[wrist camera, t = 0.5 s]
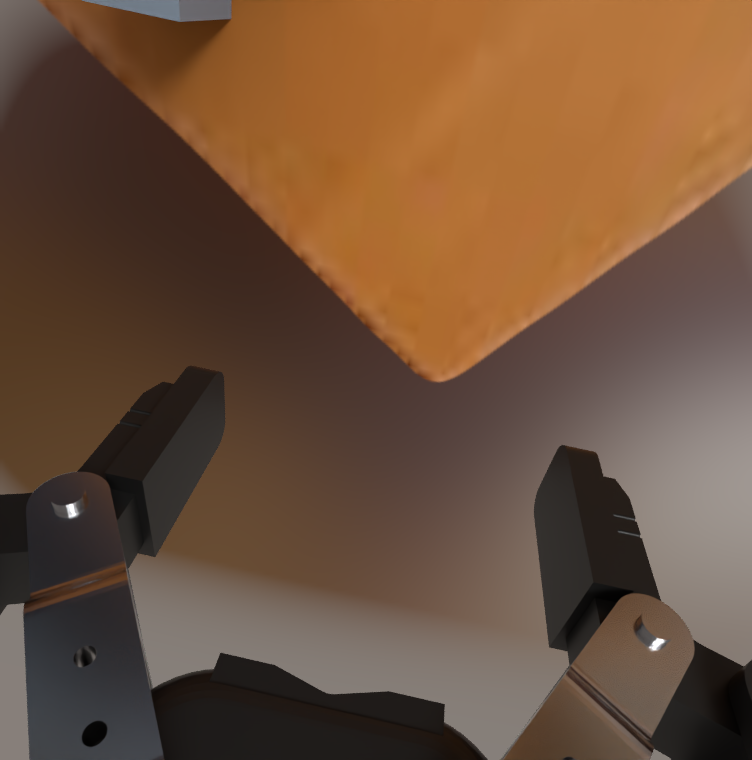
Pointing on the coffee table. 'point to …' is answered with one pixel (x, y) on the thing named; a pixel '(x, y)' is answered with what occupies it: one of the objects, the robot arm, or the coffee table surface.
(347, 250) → the coffee table surface
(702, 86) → the coffee table surface
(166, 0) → the block
